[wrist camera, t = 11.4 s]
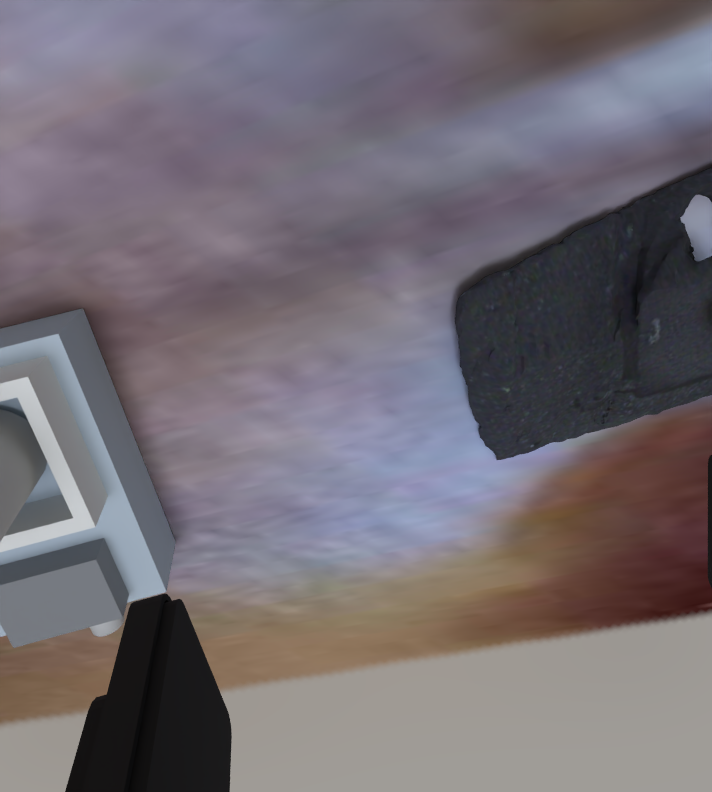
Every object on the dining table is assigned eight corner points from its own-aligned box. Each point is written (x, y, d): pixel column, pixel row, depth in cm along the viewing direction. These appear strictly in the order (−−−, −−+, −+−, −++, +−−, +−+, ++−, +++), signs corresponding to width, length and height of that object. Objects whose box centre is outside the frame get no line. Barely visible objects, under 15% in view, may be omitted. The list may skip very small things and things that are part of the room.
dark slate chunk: (426, 253, 38) (448, 269, 34) (777, 137, 39) (843, 137, 34) (480, 470, 44) (505, 507, 40) (783, 367, 45) (841, 392, 40)
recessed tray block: (-99, 352, 36) (-191, 410, 28) (82, 308, 36) (39, 353, 29) (41, 618, 43) (-3, 718, 36) (190, 578, 44) (177, 668, 36)
